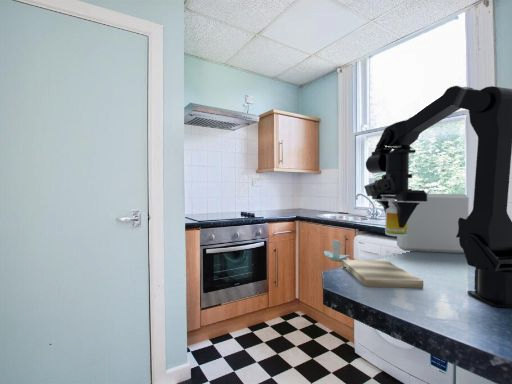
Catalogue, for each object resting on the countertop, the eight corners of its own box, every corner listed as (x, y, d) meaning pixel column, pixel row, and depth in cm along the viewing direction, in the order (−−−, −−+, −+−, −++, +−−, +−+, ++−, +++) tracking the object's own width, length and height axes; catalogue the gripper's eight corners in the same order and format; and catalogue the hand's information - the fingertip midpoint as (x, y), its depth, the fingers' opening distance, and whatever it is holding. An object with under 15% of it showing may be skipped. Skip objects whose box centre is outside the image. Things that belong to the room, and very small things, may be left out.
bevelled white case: (455, 249, 95) (456, 194, 95) (470, 254, 87) (471, 194, 87) (394, 246, 98) (395, 193, 98) (403, 251, 90) (404, 193, 90)
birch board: (423, 287, 55) (423, 280, 55) (365, 286, 55) (365, 279, 55) (386, 266, 71) (386, 260, 71) (341, 265, 71) (342, 259, 71)
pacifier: (329, 256, 81) (321, 259, 77) (330, 236, 82) (322, 238, 77) (353, 261, 77) (346, 264, 72) (354, 239, 77) (346, 241, 72)
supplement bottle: (409, 237, 71) (410, 201, 71) (388, 236, 72) (389, 200, 72) (402, 234, 76) (403, 200, 76) (382, 233, 77) (383, 200, 77)
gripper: (356, 172, 83) (355, 221, 83) (383, 167, 65) (382, 230, 65) (391, 173, 83) (390, 222, 83) (429, 168, 65) (428, 231, 65)
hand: (396, 226), depth 74 cm, fingers closed on supplement bottle, 5 cm apart
